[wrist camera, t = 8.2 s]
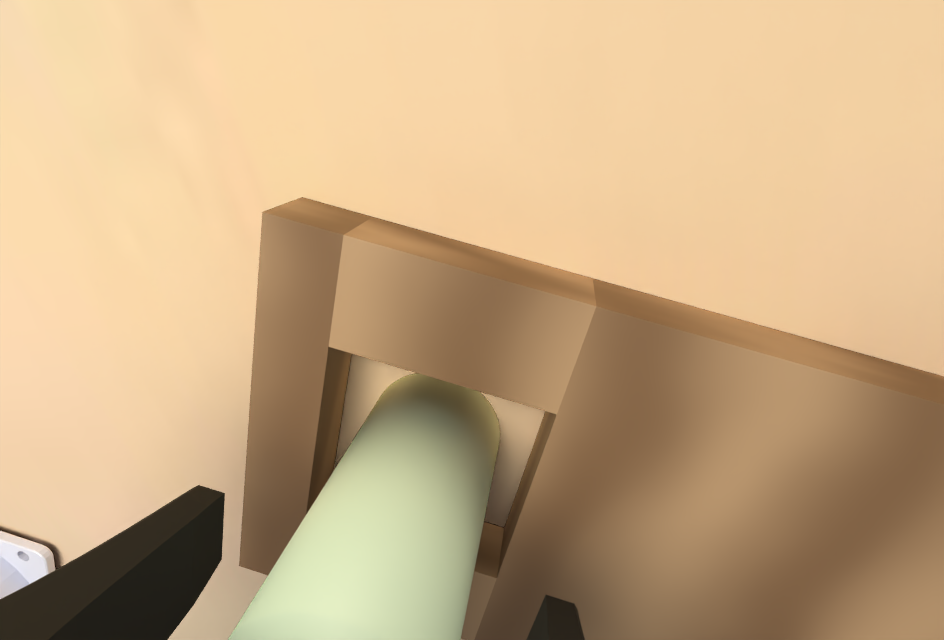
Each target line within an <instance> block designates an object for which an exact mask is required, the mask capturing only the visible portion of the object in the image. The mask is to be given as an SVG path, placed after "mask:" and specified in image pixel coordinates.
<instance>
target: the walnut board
mask: <svg viewBox="0 0 944 640" xmlns="http://www.w3.org/2000/svg"><path fill="white" fill-rule="evenodd" d="M351 354H355V355H358V356H362V357H365V358H368V359H372V360H375V361H379V362H382V363H385V364H389V365H392V366H395V367H399V368H402V369H406V370H409V371H412V372H416V373H419V374H422V375H426V376H429V377H433V378H436V379H439V380H443V381H446V382H449V383H453V384H456V385H460V386H463V387H466V388H470V389H473V390H476V391H480V392H483V393H486V394H490V395H493V396H497V397H500V398H503V399H507V400H510V401H513V402H517V403H520V404H524V405H527V406H530V407H534V408H537V409H540V410H544V411H546V412H545V414H544V417H543V420H542V423H541V426H540V429H539V431H538V434H537V437H536V440H535V443H534V446H533V448H532V451H531V454H530V457H529V460H528V462H527V465H526V468H525V471H524V474H523V477H522V479H521V482H520V485H519V488H518V491H517V494H516V496H515V499H514V502H513V505H512V508H511V510H510V513H509V516H508V519H507V522H506V525H505V527H504V528H503V527H499V526H496V525H493V524H490V523H487V522H484V524H483V529H482V534H481V539H480V544H479V549H478V554H477V559H476V564H475V569H474V574H473V579H472V584H471V589H470V594H469V599H468V604H467V610H466V615H465V620H464V625H463V630H462V635H461V638H462V639H465V640H526V639H527V637H528V635H529V632H530V630H531V628H532V625H533V623H534V621H535V618H536V616H537V614H538V611H539V609H540V607H541V604H542V602H543V600H544V597H545V595H549V596H552V597H555V598H559V599H562V600H565V601H568V602H571V603H574V604H575V606H576V607H577V609H578V614H579V618H580V622H581V626H582V631H583V635H584V638H585V640H944V377H943V376H939V375H936V374H932V373H929V372H925V371H921V370H918V369H914V368H911V367H907V366H904V365H900V364H896V363H893V362H889V361H886V360H882V359H879V358H875V357H871V356H868V355H864V354H861V353H857V352H853V351H850V350H846V349H843V348H839V347H836V346H832V345H828V344H825V343H821V342H818V341H814V340H811V339H807V338H803V337H800V336H796V335H793V334H789V333H786V332H782V331H778V330H775V329H771V328H768V327H764V326H760V325H757V324H753V323H750V322H746V321H743V320H739V319H735V318H732V317H728V316H725V315H721V314H718V313H714V312H710V311H707V310H703V309H700V308H696V307H693V306H689V305H685V304H682V303H678V302H675V301H671V300H667V299H664V298H660V297H657V296H653V295H650V294H646V293H642V292H639V291H635V290H632V289H628V288H625V287H621V286H617V285H614V284H610V283H607V282H603V281H600V280H596V279H592V278H589V277H585V276H582V275H578V274H574V273H571V272H567V271H564V270H560V269H557V268H553V267H549V266H546V265H542V264H539V263H535V262H532V261H528V260H524V259H521V258H517V257H514V256H510V255H507V254H503V253H499V252H496V251H492V250H489V249H485V248H481V247H478V246H474V245H471V244H467V243H464V242H460V241H456V240H453V239H449V238H446V237H442V236H439V235H435V234H431V233H428V232H424V231H421V230H417V229H414V228H410V227H406V226H403V225H399V224H396V223H392V222H388V221H385V220H381V219H378V218H374V217H371V216H367V215H363V214H360V213H356V212H353V211H349V210H346V209H342V208H338V207H335V206H331V205H328V204H324V203H321V202H317V201H313V200H310V199H306V198H303V197H302V198H299V199H296V200H294V201H291V202H288V203H285V204H283V205H280V206H277V207H275V208H272V209H269V210H267V211H264V212H262V227H261V243H260V258H259V273H258V288H257V303H256V319H255V334H254V349H253V364H252V380H251V395H250V410H249V425H248V440H247V456H246V471H245V486H244V501H243V516H242V532H241V547H240V562H239V566H241V567H244V568H247V569H250V570H254V571H257V572H260V573H263V574H266V575H269V573H270V572H271V570H272V569H273V567H274V565H275V564H276V562H277V561H278V559H279V557H280V556H281V554H282V553H283V551H284V549H285V548H286V546H287V545H288V543H289V541H290V540H291V538H292V537H293V535H294V533H295V532H296V530H297V529H298V527H299V526H300V524H301V522H302V521H303V519H304V518H305V516H306V514H307V513H308V511H309V510H310V508H311V506H312V505H313V503H314V502H315V500H316V498H317V497H318V495H319V494H320V492H321V490H322V489H323V487H324V486H325V484H326V483H327V481H328V479H329V478H330V476H331V475H332V473H333V469H334V462H335V456H336V450H337V443H338V437H339V430H340V424H341V418H342V411H343V405H344V398H345V392H346V386H347V379H348V373H349V366H350V360H351Z"/></svg>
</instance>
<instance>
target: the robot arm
mask: <svg viewBox="0 0 944 640" xmlns="http://www.w3.org/2000/svg"><path fill="white" fill-rule="evenodd" d="M224 497H225V493H222V492H219V491H216V490H212V489H209V488H206V487H203V486H200V485H198V486H196V487H194V488H192V489H191V490H189V491H187V492H186V493H184V494H183V495H181V496H179V497H178V498H176V499H175V500H173V501H171V502H170V503H168V504H167V505H165V506H163V507H162V508H160V509H159V510H157V511H155V512H154V513H152V514H150V515H149V516H147V517H146V518H144V519H142V520H141V521H139V522H137V523H136V524H134V525H133V526H131V527H129V528H128V529H126V530H124V531H123V532H121V533H119V534H118V535H116V536H114V537H112V538H111V539H109V540H107V541H106V542H104V543H102V544H101V545H99V546H97V547H96V548H94V549H92V550H90V551H89V552H87V553H85V554H84V555H82V556H80V557H78V558H77V559H75V560H73V561H71V562H69V563H67V564H66V565H64V566H62V567H60V568H58V569H56V570H55V563H54V557H53V553H52V551H51V550H50V549H49V548H48V547H46V546H44V545H42V544H39V543H36V542H33V541H30V540H27V539H24V538H21V537H18V536H15V535H12V534H9V533H6V532H3V531H0V640H167V639H168V638H169V637H170V635H171V634H172V633H173V631H174V630H175V629H176V627H177V626H178V625H179V624H180V622H181V621H182V620H183V618H184V617H185V616H186V614H187V613H188V612H189V610H190V609H191V608H192V606H193V605H194V603H195V602H196V600H197V599H198V597H199V595H200V594H201V592H202V591H203V589H204V587H205V586H206V584H207V583H208V581H209V579H210V578H211V576H212V574H213V573H214V571H215V569H216V568H217V566H218V564H219V563H220V561H221V559H222V539H223V518H224ZM526 640H585V638H584V635H583V631H582V626H581V622H580V618H579V614H578V609H577V607H576V606H575V604H574V603H571V602H568V601H565V600H562V599H559V598H555V597H552V596H549V595H545V597H544V600H543V602H542V604H541V607H540V609H539V611H538V614H537V616H536V618H535V621H534V623H533V625H532V628H531V630H530V632H529V635H528V637H527V639H526Z"/></svg>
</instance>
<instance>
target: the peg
mask: <svg viewBox="0 0 944 640" xmlns="http://www.w3.org/2000/svg"><path fill="white" fill-rule="evenodd" d="M499 443H500V426H499V422H498V419H497V416H496V414H495V411H494V410H493V408H492V406H491V405H490V403H489V402H488V401H487V399H486V398H485V397H484V396H483V395H482V394H481V393H480V392H479V391H476V390H473V389H470V388H466V387H463V386H460V385H456V384H453V383H449V382H446V381H443V380H439V379H436V378H433V377H429V376H426V375H422V374H419V373H416V374H412V375H408V376H405V377H403V378H400V379H399V380H397V381H395V382H394V383H392V384H391V385H390V386H389V387H388V388H387V389H386V390H385V391H384V392H383V394H382V395H381V397H380V398H379V400H378V401H377V403H376V404H375V406H374V408H373V409H372V411H371V412H370V414H369V416H368V417H367V419H366V420H365V422H364V424H363V425H362V427H361V428H360V430H359V432H358V433H357V435H356V436H355V438H354V439H353V441H352V443H351V444H350V446H349V447H348V449H347V451H346V452H345V454H344V455H343V457H342V459H341V460H340V462H339V463H338V465H337V467H336V468H335V470H334V471H333V473H332V475H331V476H330V478H329V479H328V481H327V483H326V484H325V486H324V487H323V489H322V490H321V492H320V494H319V495H318V497H317V498H316V500H315V502H314V503H313V505H312V506H311V508H310V510H309V511H308V513H307V514H306V516H305V518H304V519H303V521H302V522H301V524H300V526H299V527H298V529H297V530H296V532H295V533H294V535H293V537H292V538H291V540H290V541H289V543H288V545H287V546H286V548H285V549H284V551H283V553H282V554H281V556H280V557H279V559H278V561H277V562H276V564H275V565H274V567H273V569H272V570H271V572H270V573H269V575H268V576H267V578H266V580H265V581H264V583H263V584H262V586H261V588H260V589H259V591H258V592H257V594H256V596H255V597H254V599H253V600H252V602H251V604H250V605H249V607H248V608H247V610H246V612H245V613H244V615H243V616H242V618H241V620H240V621H239V623H238V624H237V626H236V627H235V629H234V631H233V632H232V634H231V635H230V637H229V639H228V640H461V635H462V630H463V625H464V620H465V615H466V610H467V604H468V599H469V594H470V589H471V584H472V579H473V574H474V569H475V564H476V559H477V554H478V549H479V544H480V539H481V534H482V529H483V524H484V518H485V513H486V508H487V503H488V498H489V493H490V488H491V483H492V478H493V473H494V468H495V463H496V458H497V453H498V448H499Z"/></svg>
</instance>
